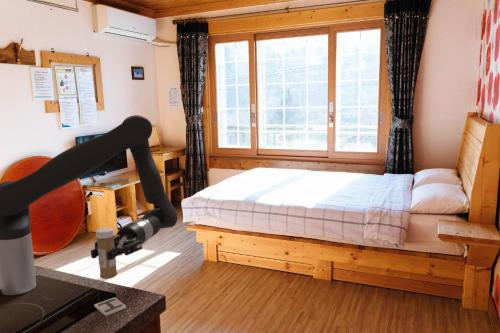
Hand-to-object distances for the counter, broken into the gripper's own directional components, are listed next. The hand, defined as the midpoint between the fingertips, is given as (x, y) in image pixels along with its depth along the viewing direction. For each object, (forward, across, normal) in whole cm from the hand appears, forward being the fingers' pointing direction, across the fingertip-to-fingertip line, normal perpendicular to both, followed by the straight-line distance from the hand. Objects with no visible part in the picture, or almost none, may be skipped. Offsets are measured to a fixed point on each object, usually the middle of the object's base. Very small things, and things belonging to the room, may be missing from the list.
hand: (100, 255), depth 106 cm
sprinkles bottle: (-3, 0, +7) cm, 8 cm away
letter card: (-2, 0, +16) cm, 16 cm away
